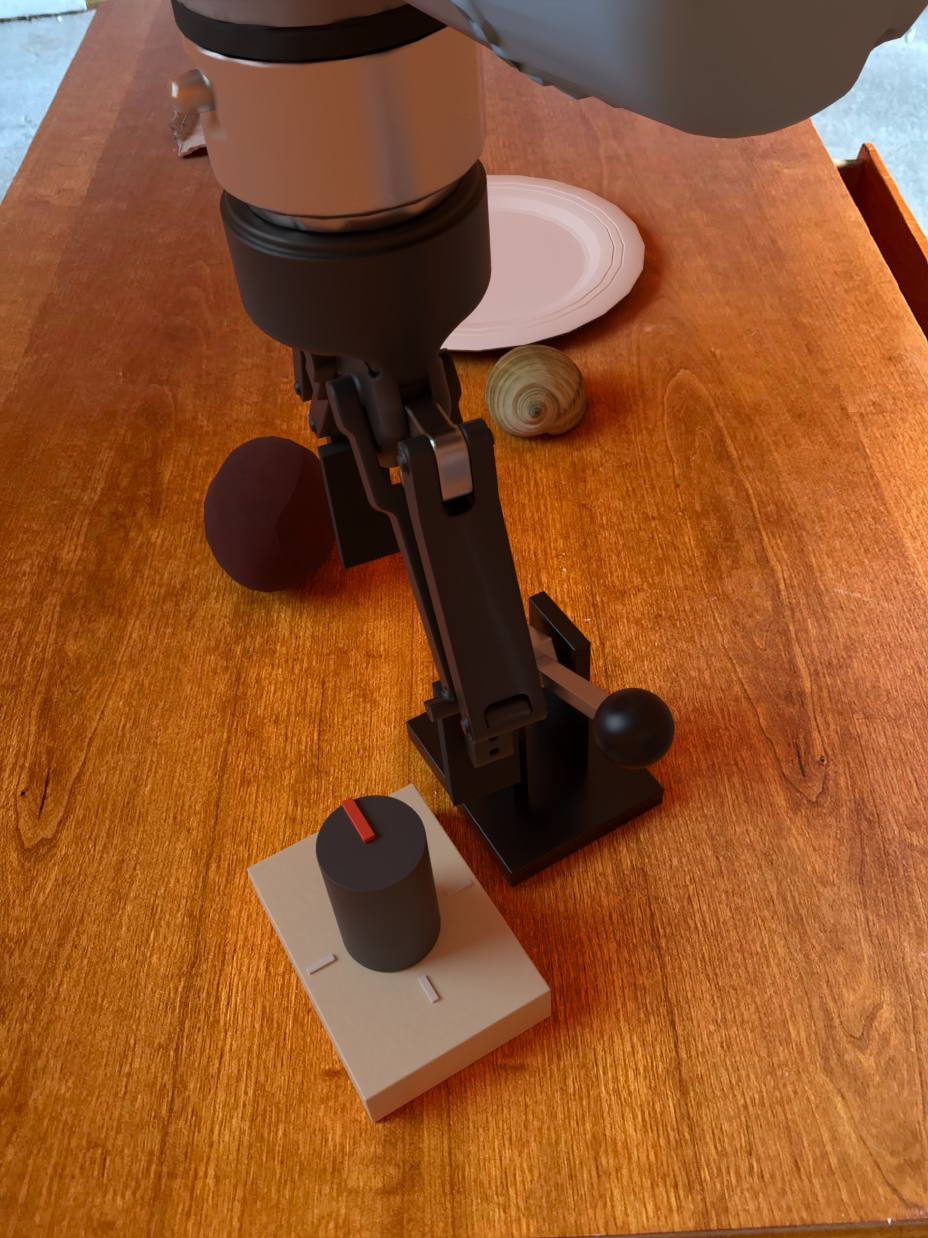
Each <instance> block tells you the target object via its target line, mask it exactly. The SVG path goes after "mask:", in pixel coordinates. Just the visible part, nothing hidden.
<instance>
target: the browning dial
mask: <svg viewBox="0 0 928 1238" xmlns="http://www.w3.org/2000/svg"><path fill="white" fill-rule="evenodd" d="M340 804H341V805H339V806H338V807H336V809H334V810H333V811H331V813H330V814H329V815H328V816H327V818H325V820H324V821H323V823H322V824H321V826H320V828H319V830H318V831H319V833H318V836H317V840H316V857H317V861H318V864H319V867H320V871H321V874H322V877H323V880H324V883H325V886H326V889H327V893H328V896H329V899H330V902H331V905H332V908H333V911H334V915H335V918H336V921H337V924H338V927H339V930H340V934H341V937H342V940H343V943H344V946H345V948H346V950H347V951H348V953H349V954H350V956H351V957H352V958H353V959H354V960H355V961H356V962H358V963H359V964H360V965H362V966H364V967H366V968H368V969H370V970H374V971H378V972H397V971H401V970H405V969H407V968H410V967H412V966H414V965H416V964H417V963H419V962H420V961H421V960H423V959H424V958H425V957H426V956H427V955H428V954H429V953H430V951H431V950H432V949H433V947H434V945H435V944H436V942H437V939H438V937H439V933H440V927H441V917H440V911H439V906H438V900H437V894H436V888H435V883H434V877H433V871H432V865H431V860H430V854H429V848H428V842H427V837H426V831H425V827H424V824H423V822H422V820H421V818H420V817H419V815H418V814H417V813H416V811H415V810H414V809H413V808H411V807H410V806H409V805H407V804H406V803H404V802H403V801H401V800H398V799H396V798H393V797H389V796H388V795H382V794H372V795H371V794H370V795H364V796H359V797H356V798H353V796H350V797H348V798H346V799H343V800H341V802H340Z"/></svg>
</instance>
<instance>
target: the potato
mask: <svg viewBox="0 0 928 1238" xmlns="http://www.w3.org/2000/svg"><path fill="white" fill-rule="evenodd" d="M203 523H204V537H205V540H206V542H207V544H208V546H209V549H210V551H211V553H212V555H213V556H214V559H215V561H216V564H217V565H219V567H220V568H221V569H222V570H223V571H224V572H225V573H226V574H227V575H228V576H229V577H230V578H231V579H232V580H233V581H234V582H235V583H237V584H238V585H240V586H241V587H244V588H245V589H248V590H249V591H253V592H254V591H255V592H261V593H268V594H269V593H276V592H282V591H285V590H288V589H291V588H294V587H296V586H297V585H300V584H302V583H304V582H305V581H306V580H308V579H309V578H311V577H312V576H313V575H315V574H316V573H317V572H319V571H320V569H321V568H322V567H323V566H324V565H325V564H326V563H327V561H328V559H329V557H330V555H331V553H332V551H333V549H334V547H335V543H336V542H337V541H336V536H335V531H334V526H333V521H332V517H331V512H330V507H329V502H328V497H327V493H326V488H325V483H324V478H323V473H322V469H321V464H320V459H319V456H318V455H316V453H315V452H314V451H313V450H311V449H309V448H307V447H306V446H304V445H302V444H300V443H298V442H296V441H294V440H292V439H290V438H285V437H281V436H277V435H276V436H275V435H267V436H258V437H254V438H252V439H250V440H248V441H245V442H243V443H241V444H240V445H239V446H237V447H236V448H235V449H233V450H232V451H230V453H229V454H228V456H227V457H226V458H225V460H224V462H223V463H222V464H221V466H220V467H219V469H218V470H217V472H216V474H215V475H214V477H213V478H212V479H211V481H210V483H209V484H208V488H207V491H206V494H205V497H204V501H203Z"/></svg>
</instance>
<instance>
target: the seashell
mask: <svg viewBox="0 0 928 1238" xmlns="http://www.w3.org/2000/svg"><path fill="white" fill-rule="evenodd" d="M584 379H585V378H584V376H583V374H582V372H581V370H580V368H579V367H578V365H577V364H576V362H574V361H573V360H572V359H571V358H570V357H569V356H568V355H566V354H565V353H564V352H563V351H562V350H560V349H557V348H555V347H552V346H549V345H544V344H531V345H523V346H519V347H515V348H512V349H511V350H509V351H508V352H506V353H505V354H504V355H502V356H501V357H500V358H499V359H498V361H497V362H496V363H495V364H494V365H493V367H492V369H491V370H490V372H489V374H488V377H487V380H486V383H485V389H484V397H485V399H484V400H485V406H486V409H487V412H488V413H489V416H490V418H491V419H492V421H493V422H494V424H495V425H496V426H497V427H498V428H499V429H500V430H501V431H503V432H504V433H506V434H508V435H509V436H511V437H512V436H513V437H518V438H530V437H536V436H539V435H543V434H548V435H550V436H554V435H555V436H558V435H562V434H565V433H567V432H569V431H570V430H573V429H574V428H576V425H578V424H580V422H581V421H582V419H583V418H584V416H585V413H586V411H587V410H586V409H587V387H586V383H585V380H584Z"/></svg>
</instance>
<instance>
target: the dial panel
mask: <svg viewBox="0 0 928 1238" xmlns="http://www.w3.org/2000/svg"><path fill="white" fill-rule="evenodd" d="M387 796H389V797H393V798H396V799H398V800H401V801H403V802H404V803H406V804H407V805H409V806H410V807H411V808H413V809H414V810H415V811H416V813H417V814H418V815H419V817H420V818H421V820H422V822H423V824H424V827H425V831H426V837H427V842H428V848H429V854H430V860H431V865H432V871H433V877H434V883H435V888H436V894H437V900H438V906H439V911H440V917H441V927H440V933H439V937H438V939H437V942H436V944H435V945H434V947H433V949H432V950H431V951H430V953H429V954H428V955H427V956H426V957H425V958H424V959H423V960H421V961H420V962H419V963H417V964H416V965H414V966H412V967H410V968H407V969H405V970H401V971H397V972H378V971H374V970H370V969H368V968H366V967H364V966H362V965H360V964H359V963H358V962H356V961H355V960H354V959H353V958H352V957H351V956H350V954H349V953H348V951H347V950H346V948H345V946H344V943H343V940H342V937H341V934H340V930H339V927H338V924H337V921H336V918H335V915H334V911H333V908H332V905H331V902H330V899H329V896H328V893H327V889H326V886H325V883H324V880H323V877H322V874H321V871H320V867H319V864H318V861H317V857H316V840H317V836H318V833H319V830H318V831H316V832H314V833H313V834H310V835H308V836H307V837H305V838H302V839H301V840H299V841H297V842H295V843H294V844H291V845H290V846H287V847H286V848H284V849H281V850H280V851H278V852H276V853H274V854H271V855H270V856H268V857H266V858H264V859H262V860H261V861H258V862H256V863H255V864H253V865H250V866H248V867H247V868H246V872H247V874H248V876H249V879H250V881H251V884H252V886H253V888H254V891H255V893H256V896H257V899H258V900H259V902H260V904H261V906H262V908H263V909H264V912H265V914H266V915H267V918H268V920H269V922H270V923H271V925H272V927H273V930H274V932H275V934H276V935H277V937H278V940H279V941H280V943H281V945H282V947H283V949H284V951H285V953H286V955H287V957H288V959H289V961H290V964H291V965H292V967H293V969H294V971H295V973H296V975H297V977H298V978H299V981H300V982H301V984H302V986H303V988H304V990H305V992H306V995H307V997H308V998H309V1001H310V1002H311V1004H312V1006H313V1008H314V1010H315V1012H316V1014H317V1016H318V1018H319V1020H320V1023H321V1024H322V1026H323V1028H324V1030H325V1032H326V1033H327V1035H328V1038H329V1040H330V1041H331V1044H332V1045H333V1048H334V1050H335V1052H336V1054H337V1055H338V1058H339V1059H340V1061H341V1063H342V1065H343V1067H344V1069H345V1071H346V1073H347V1076H348V1077H349V1079H350V1082H351V1083H352V1085H353V1087H354V1089H355V1091H356V1093H357V1095H358V1097H359V1099H360V1101H361V1102H362V1105H363V1106H364V1108H365V1111H366V1113H367V1114H368V1116H369V1118H370V1120H371V1122H372V1123H373V1124H374V1123H376V1122H378V1121H380V1120H382V1119H383V1118H385V1117H386V1116H388V1115H390V1114H391V1113H393V1112H395V1111H396V1110H398V1109H400V1108H402V1107H403V1106H404V1105H406V1104H408V1103H410V1102H411V1101H413V1100H414V1099H416V1098H418V1097H419V1096H421V1095H422V1094H424V1093H426V1092H427V1091H429V1090H431V1089H432V1088H434V1087H436V1086H437V1085H439V1084H440V1083H443V1082H444V1081H445V1080H447V1079H449V1078H450V1077H452V1076H454V1075H455V1074H457V1073H459V1072H460V1071H462V1070H464V1069H465V1068H467V1067H469V1066H470V1065H472V1064H473V1063H475V1062H477V1061H478V1060H480V1059H482V1058H484V1057H485V1056H486V1055H488V1054H490V1053H491V1052H493V1051H495V1050H496V1049H498V1048H500V1047H502V1046H503V1045H504V1044H506V1043H508V1042H510V1041H511V1040H513V1039H515V1038H516V1037H517V1036H520V1035H521V1034H522V1033H524V1032H526V1031H527V1030H529V1029H531V1028H533V1027H534V1026H536V1025H538V1024H539V1023H541V1022H542V1021H544V1020H546V1019H547V1018H549V1017H551V1015H552V990H551V989H552V988H551V986H549V984H548V983H547V981H546V980H545V978H544V976H543V975H542V974H541V972H540V971H539V969H538V967H536V965H535V963H534V962H533V960H532V959H531V957H530V956H529V954H528V953H527V951H526V950H525V948H524V947H523V945H522V944H521V942H520V941H519V939H518V938H517V936H516V935H515V933H514V932H513V931H512V928H511V927H510V926H509V924H508V923H507V921H506V920H505V918H504V917H503V915H502V914H501V912H500V911H499V909H498V908H497V907H496V905H495V903H494V902H493V900H492V899H491V898H490V896H489V894H488V893H487V891H486V890H485V888H484V887H483V886H482V883H480V881H479V880H478V878H477V877H476V875H475V874H474V872H473V870H472V869H471V868H470V866H469V864H468V863H467V862H466V860H465V858H464V857H463V856H462V853H460V851H459V849H458V848H457V846H456V845H455V844H454V842H453V840H452V839H451V837H450V836H449V835H448V833H447V832H446V830H445V828H444V827H443V826H442V824H441V823H440V821H439V820H438V818H437V817H436V815H435V814H434V812H433V811H432V809H431V808H430V806H429V805H428V803H427V802H426V800H425V799H424V797H423V796H422V794H421V792H420V791H419V789H418V788H417V787H416V785H415V784H414V783H413V782H412V783H409V784H408V785H405V786H404V787H402V788H399V789H398V790H396V791H394V792H392V793H390V794H388V795H387Z"/></svg>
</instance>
